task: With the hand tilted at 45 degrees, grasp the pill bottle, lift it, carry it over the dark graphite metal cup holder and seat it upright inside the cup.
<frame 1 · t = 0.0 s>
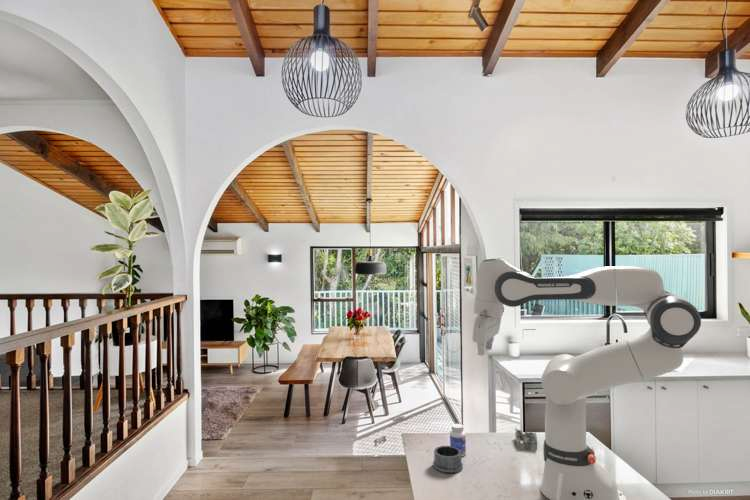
hand: (484, 352, 139), 39 cm above the countertop, tool pointing down, fingers open, 8 cm apart
pill bottle: (458, 454, 154), on the countertop
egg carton: (526, 445, 161), on the countertop
cup holder: (447, 466, 144), on the countertop
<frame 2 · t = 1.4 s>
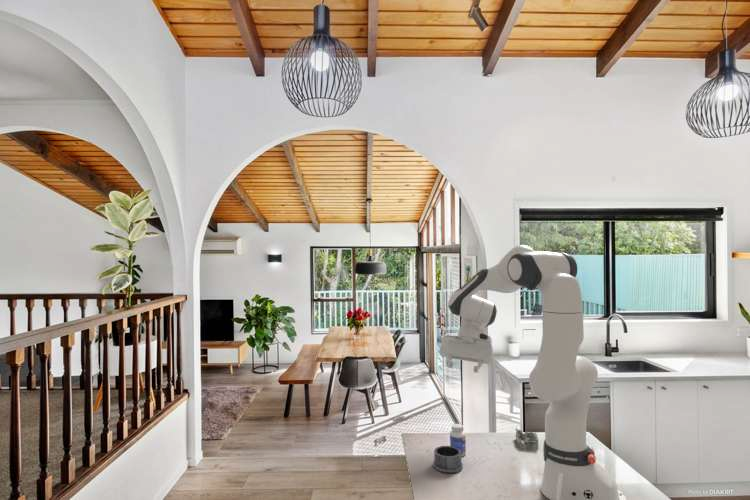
hand: (462, 369, 164), 27 cm above the countertop, tool tilted 40°, fingers open, 8 cm apart
nothing on the countertop moved.
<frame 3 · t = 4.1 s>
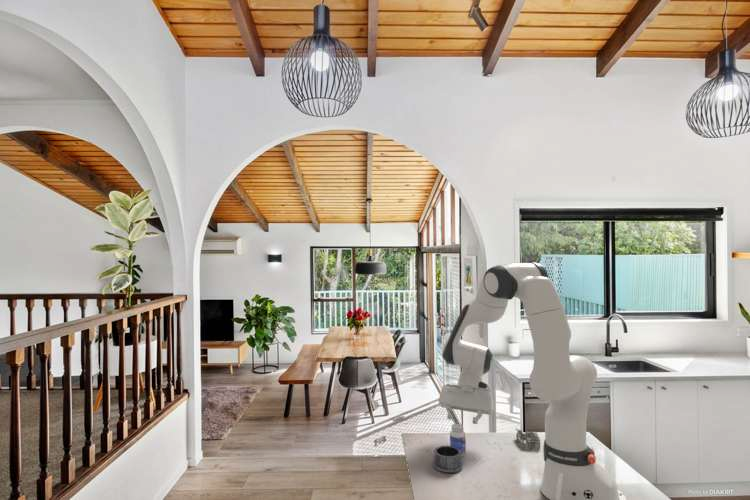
hand: (461, 421, 159), 10 cm above the countertop, tool tilted 45°, fingers open, 8 cm apart
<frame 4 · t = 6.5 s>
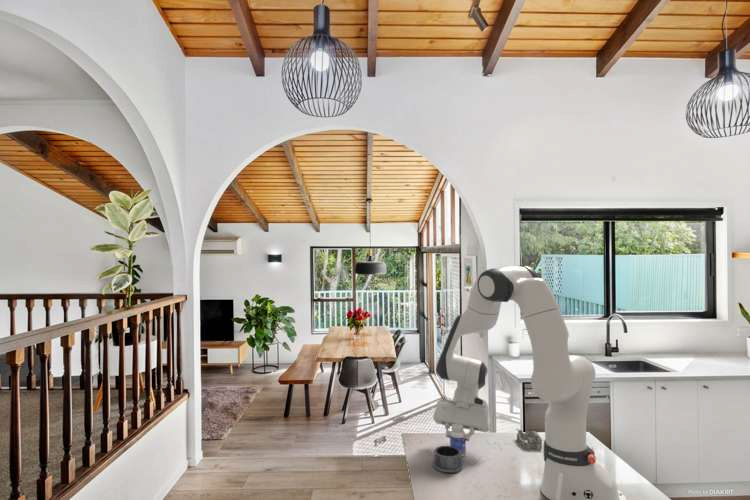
hand: (457, 438, 154), 5 cm above the countertop, tool tilted 45°, fingers closed on pill bottle, 5 cm apart
pill bottle: (458, 454, 154), on the countertop, touching gripper
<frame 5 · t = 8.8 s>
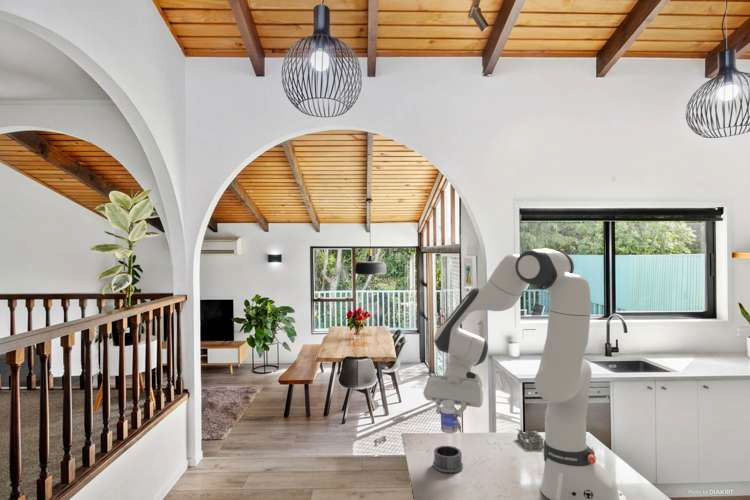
hand: (448, 414, 145), 17 cm above the countertop, tool tilted 45°, fingers closed on pill bottle, 5 cm apart
pill bottle: (449, 431, 146), point 11 cm above the countertop, touching gripper
when the fingers open (8 cm above the countertop, at t = 11.5 s): pill bottle drops 2 cm, resting on cup holder.
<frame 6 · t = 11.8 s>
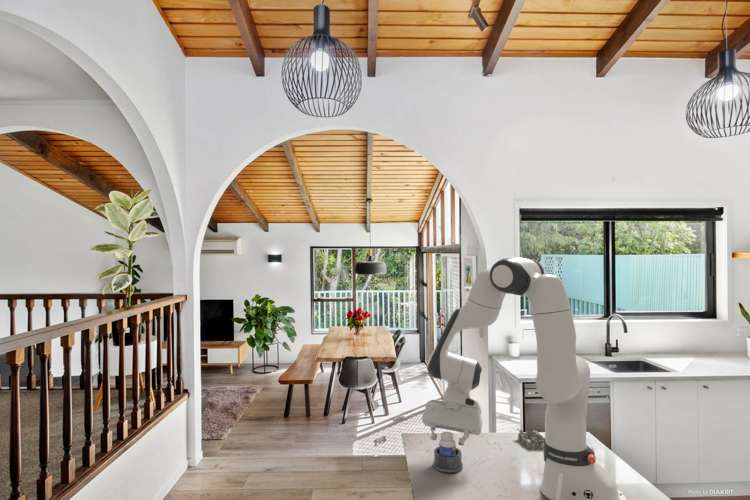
hand: (446, 441, 144), 8 cm above the countertop, tool tilted 45°, fingers open, 8 cm apart
pill bottle: (447, 464, 144), point 1 cm above the countertop, touching cup holder
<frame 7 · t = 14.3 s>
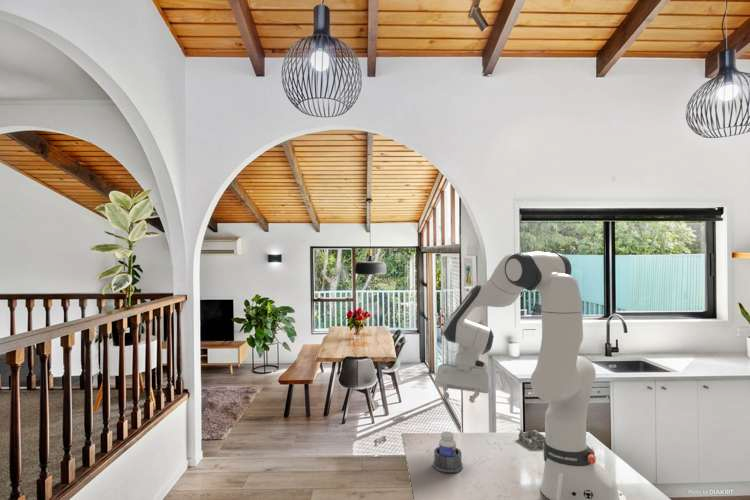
hand: (458, 399, 156), 18 cm above the countertop, tool tilted 45°, fingers open, 8 cm apart
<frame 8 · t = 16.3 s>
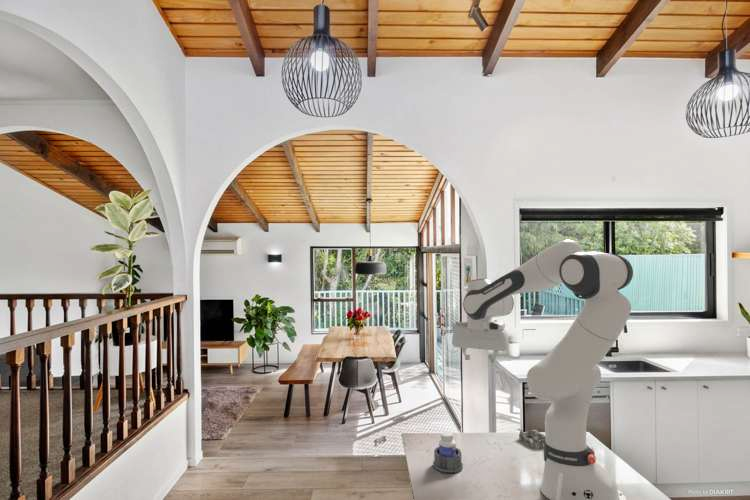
hand: (480, 361, 160), 31 cm above the countertop, tool pointing down, fingers open, 8 cm apart
at the end: pill bottle 0.1 cm off-centre on the cup holder, point 0.8 cm above the cup holder's base; pill bottle tilted 0°; the gripper is holding nothing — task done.
